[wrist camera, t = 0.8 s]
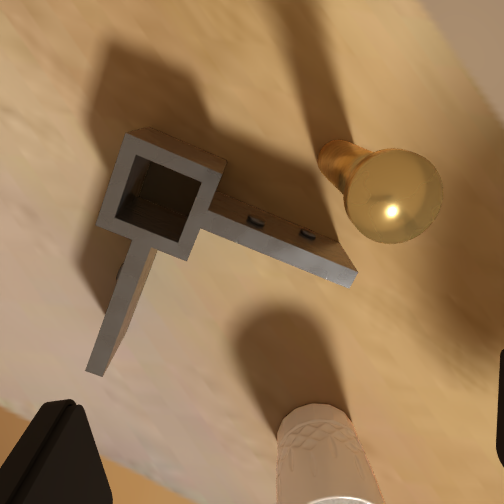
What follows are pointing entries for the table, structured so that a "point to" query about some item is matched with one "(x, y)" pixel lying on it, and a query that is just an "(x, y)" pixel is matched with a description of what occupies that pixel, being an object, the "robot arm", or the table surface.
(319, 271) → the hinge body
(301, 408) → the white cup
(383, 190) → the hinge pin
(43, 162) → the table surface
